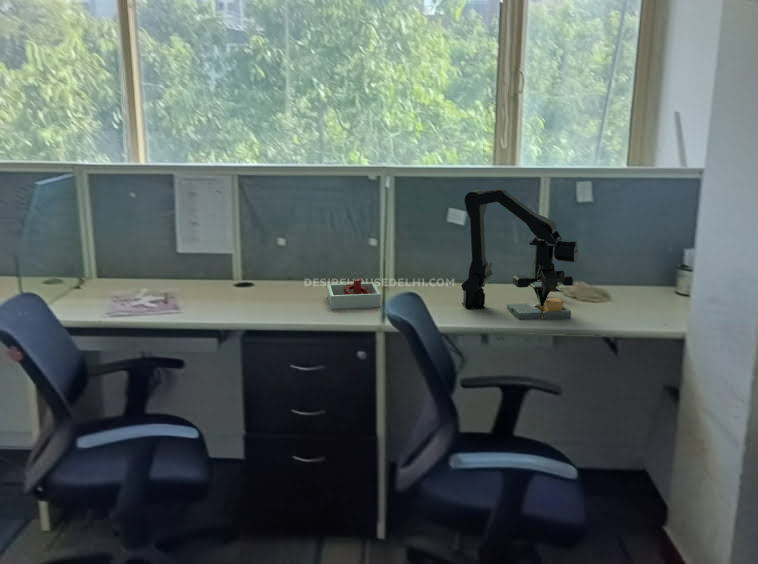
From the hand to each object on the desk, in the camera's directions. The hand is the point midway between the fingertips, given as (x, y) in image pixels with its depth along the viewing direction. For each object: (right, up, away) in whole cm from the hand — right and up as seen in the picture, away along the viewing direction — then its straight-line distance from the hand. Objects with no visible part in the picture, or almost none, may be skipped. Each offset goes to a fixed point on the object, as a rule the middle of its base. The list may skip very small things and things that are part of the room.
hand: (541, 305), depth 240 cm
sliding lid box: (0, -3, +1) cm, 3 cm away
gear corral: (-62, +1, +18) cm, 65 cm away
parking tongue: (-6, -2, +7) cm, 9 cm away
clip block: (+2, -1, 0) cm, 2 cm away
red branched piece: (-60, +1, +18) cm, 62 cm away
